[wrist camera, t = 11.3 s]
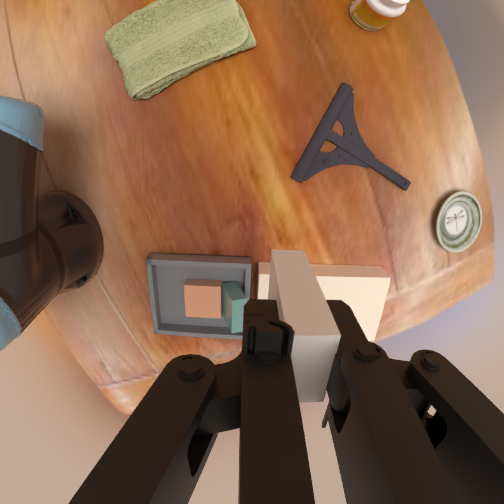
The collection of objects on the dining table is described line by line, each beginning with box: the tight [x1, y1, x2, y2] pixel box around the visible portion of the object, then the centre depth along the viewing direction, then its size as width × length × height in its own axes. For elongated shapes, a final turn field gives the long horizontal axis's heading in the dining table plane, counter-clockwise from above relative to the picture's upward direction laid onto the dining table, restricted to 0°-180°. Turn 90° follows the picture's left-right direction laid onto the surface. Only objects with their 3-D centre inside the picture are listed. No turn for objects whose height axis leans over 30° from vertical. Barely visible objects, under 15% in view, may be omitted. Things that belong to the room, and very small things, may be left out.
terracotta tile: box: [184, 279, 222, 318], centre depth 43 cm, size 5×5×2 cm
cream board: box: [256, 262, 391, 341], centre depth 43 cm, size 18×11×4 cm, turn 87°
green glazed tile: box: [222, 281, 247, 333], centre depth 42 cm, size 5×5×2 cm
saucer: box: [436, 191, 482, 253], centre depth 40 cm, size 10×10×2 cm
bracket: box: [291, 83, 410, 191], centre depth 37 cm, size 14×15×3 cm
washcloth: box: [104, 0, 257, 100], centre depth 31 cm, size 13×18×3 cm
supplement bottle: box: [350, 0, 410, 31], centre depth 26 cm, size 5×5×10 cm
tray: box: [146, 253, 251, 339], centre depth 43 cm, size 14×12×2 cm
